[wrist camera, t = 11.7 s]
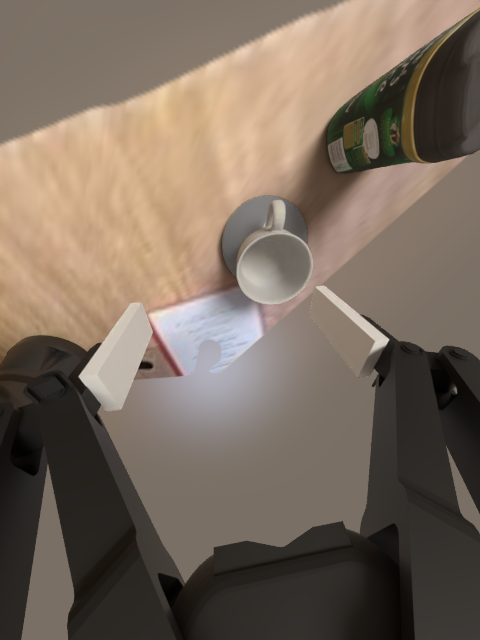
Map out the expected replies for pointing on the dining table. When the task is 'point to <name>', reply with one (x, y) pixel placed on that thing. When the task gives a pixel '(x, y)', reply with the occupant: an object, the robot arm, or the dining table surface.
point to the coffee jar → (415, 107)
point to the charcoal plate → (256, 225)
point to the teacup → (273, 261)
